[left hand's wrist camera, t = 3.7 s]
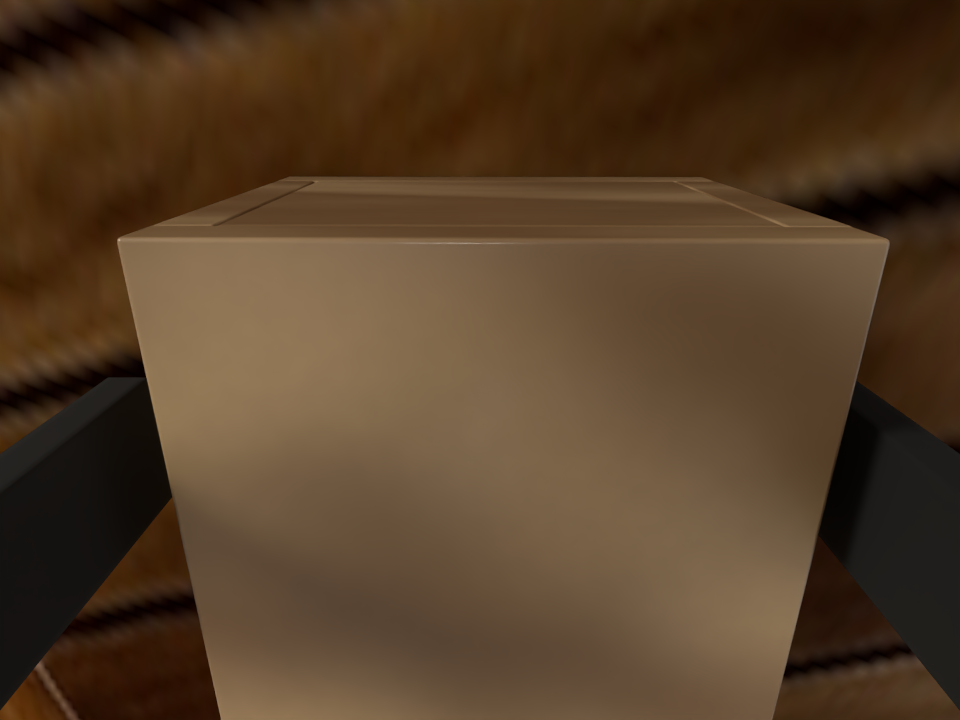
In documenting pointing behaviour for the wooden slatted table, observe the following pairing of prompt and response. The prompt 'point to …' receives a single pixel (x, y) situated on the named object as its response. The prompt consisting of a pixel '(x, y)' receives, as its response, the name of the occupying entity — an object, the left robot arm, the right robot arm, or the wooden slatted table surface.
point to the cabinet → (500, 439)
